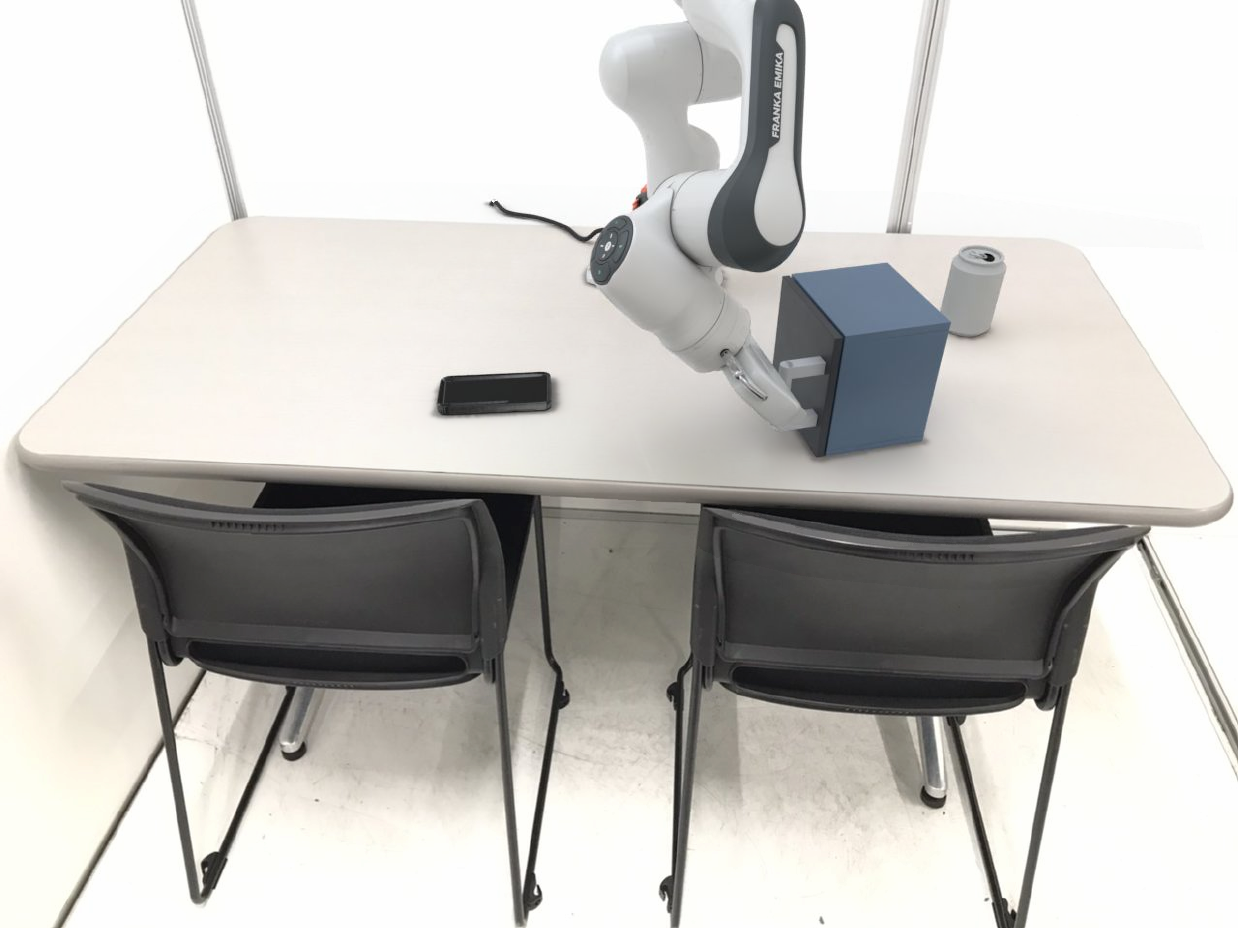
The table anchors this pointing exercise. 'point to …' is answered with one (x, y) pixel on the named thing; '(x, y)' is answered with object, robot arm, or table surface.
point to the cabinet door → (807, 361)
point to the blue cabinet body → (878, 355)
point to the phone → (494, 393)
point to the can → (973, 289)
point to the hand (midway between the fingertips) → (784, 393)
